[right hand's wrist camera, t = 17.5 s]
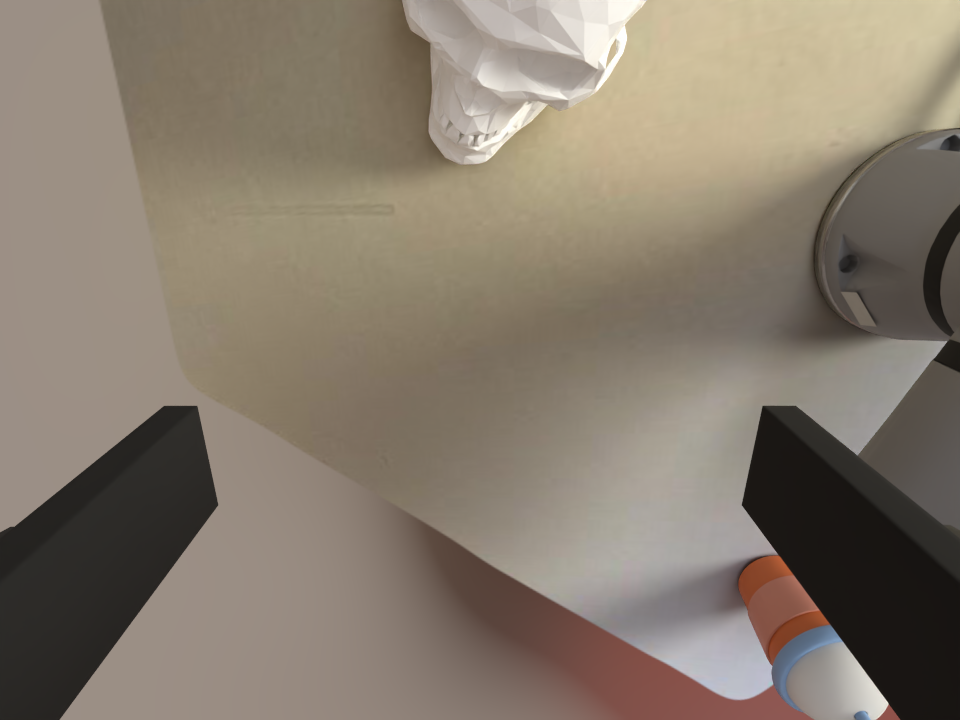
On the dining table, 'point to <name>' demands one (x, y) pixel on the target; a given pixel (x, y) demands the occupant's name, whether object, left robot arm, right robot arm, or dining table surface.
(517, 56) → the skull
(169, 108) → the dining table surface
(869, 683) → the cup with straw
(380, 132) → the dining table surface
